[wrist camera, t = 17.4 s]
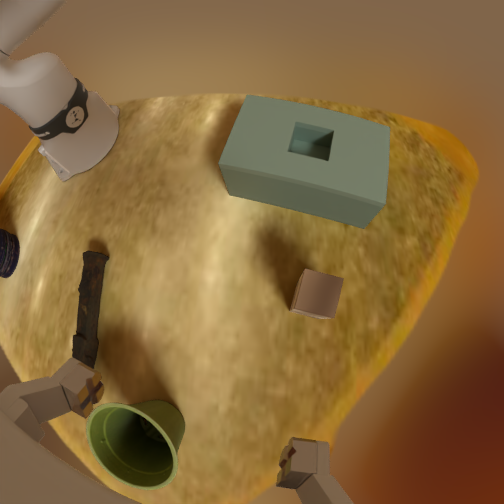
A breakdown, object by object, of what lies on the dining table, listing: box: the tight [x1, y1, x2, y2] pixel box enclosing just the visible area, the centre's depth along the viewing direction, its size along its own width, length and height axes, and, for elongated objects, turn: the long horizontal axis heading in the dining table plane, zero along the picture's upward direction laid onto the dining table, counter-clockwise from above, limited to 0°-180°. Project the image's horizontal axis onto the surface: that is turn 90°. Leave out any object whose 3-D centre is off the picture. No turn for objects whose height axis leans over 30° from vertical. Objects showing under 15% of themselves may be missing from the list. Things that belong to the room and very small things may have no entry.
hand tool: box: [72, 251, 109, 369], centre depth 36 cm, size 19×4×5 cm, turn 174°
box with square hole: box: [218, 95, 390, 229], centre depth 36 cm, size 20×12×9 cm, turn 74°
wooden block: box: [290, 269, 344, 319], centre depth 31 cm, size 4×4×10 cm
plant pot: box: [86, 400, 185, 490], centre depth 28 cm, size 12×12×11 cm
